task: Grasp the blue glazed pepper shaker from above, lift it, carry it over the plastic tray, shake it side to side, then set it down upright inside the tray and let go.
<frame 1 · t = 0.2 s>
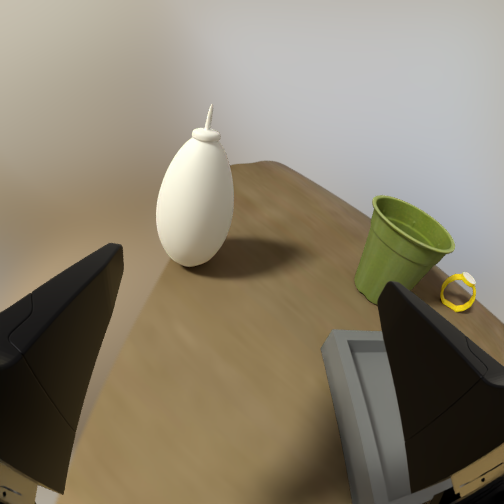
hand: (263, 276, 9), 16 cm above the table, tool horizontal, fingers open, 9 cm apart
watch: (448, 306, 39), on the table
sauce bottle: (188, 261, 35), on the table
plant pot: (376, 291, 38), on the table
tray: (409, 419, 23), on the table
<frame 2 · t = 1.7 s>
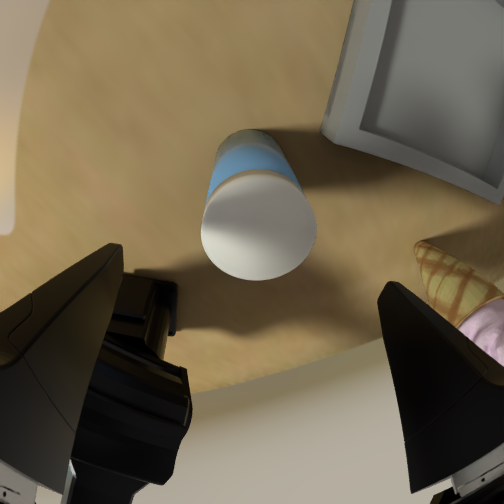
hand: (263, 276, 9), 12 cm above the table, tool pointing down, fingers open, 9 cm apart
shaker: (249, 161, 19), on the table
ice cream cone: (418, 249, 24), on the table
tray: (448, 56, 14), on the table
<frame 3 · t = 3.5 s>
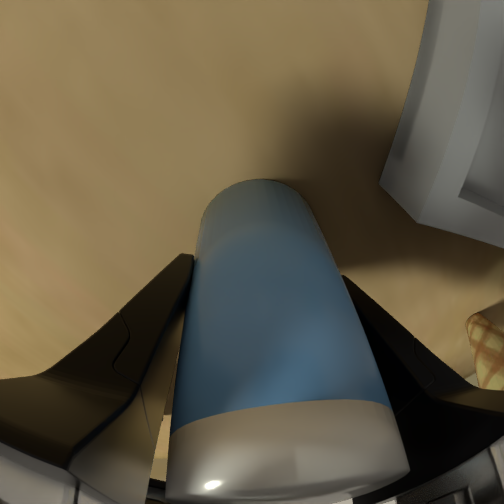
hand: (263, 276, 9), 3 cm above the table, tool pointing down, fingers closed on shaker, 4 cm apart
shaker: (258, 233, 12), on the table, touching gripper
ice cream cone: (470, 321, 16), on the table
when the fingers open (4 cm above the table, at t = 11.2 s): shaker stays where it is, resting on tray.
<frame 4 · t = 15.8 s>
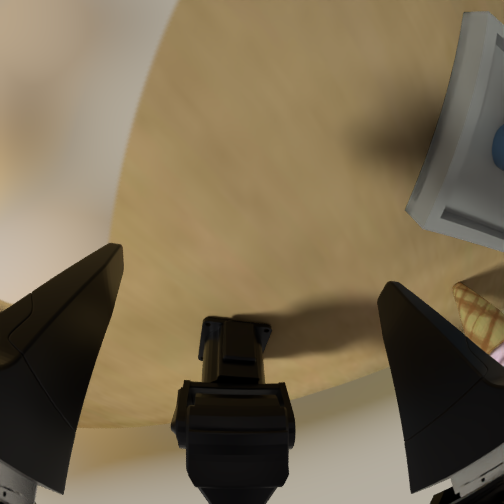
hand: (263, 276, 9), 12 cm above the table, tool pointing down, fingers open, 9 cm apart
ice cream cone: (455, 288, 28), on the table
tray: (499, 143, 18), on the table
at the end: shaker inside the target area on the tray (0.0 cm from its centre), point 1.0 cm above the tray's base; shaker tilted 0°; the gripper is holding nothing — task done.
